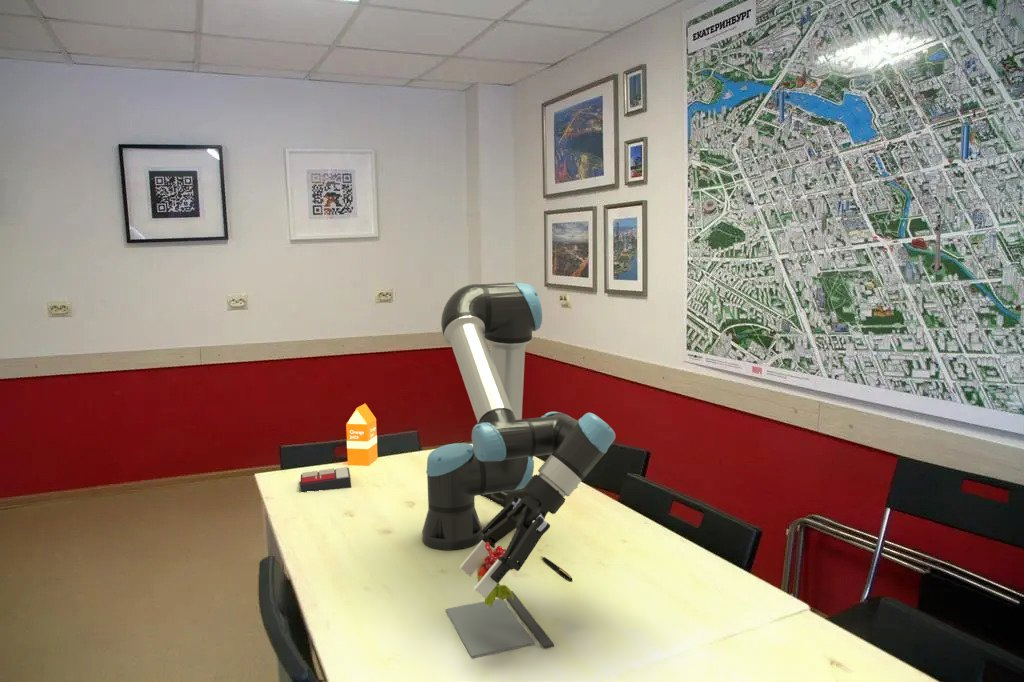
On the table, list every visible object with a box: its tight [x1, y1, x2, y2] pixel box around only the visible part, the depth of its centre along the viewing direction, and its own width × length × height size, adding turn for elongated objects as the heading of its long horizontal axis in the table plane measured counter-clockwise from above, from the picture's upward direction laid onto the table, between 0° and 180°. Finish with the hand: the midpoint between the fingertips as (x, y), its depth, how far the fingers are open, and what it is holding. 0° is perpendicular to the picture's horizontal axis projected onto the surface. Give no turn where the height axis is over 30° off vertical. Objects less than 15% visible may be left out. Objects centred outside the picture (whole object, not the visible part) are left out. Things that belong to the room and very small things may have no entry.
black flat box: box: [481, 475, 534, 508], centre depth 209 cm, size 16×17×4 cm
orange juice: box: [345, 403, 378, 467], centre depth 244 cm, size 8×9×20 cm
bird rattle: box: [476, 542, 514, 607], centre depth 128 cm, size 6×11×9 cm
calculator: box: [299, 466, 352, 493], centre depth 221 cm, size 11×4×15 cm
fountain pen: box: [540, 555, 573, 582], centre depth 158 cm, size 14×1×2 cm, turn 27°
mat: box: [445, 590, 555, 659], centre depth 135 cm, size 22×15×1 cm
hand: (472, 582), depth 127 cm, fingers closed on bird rattle, 8 cm apart
